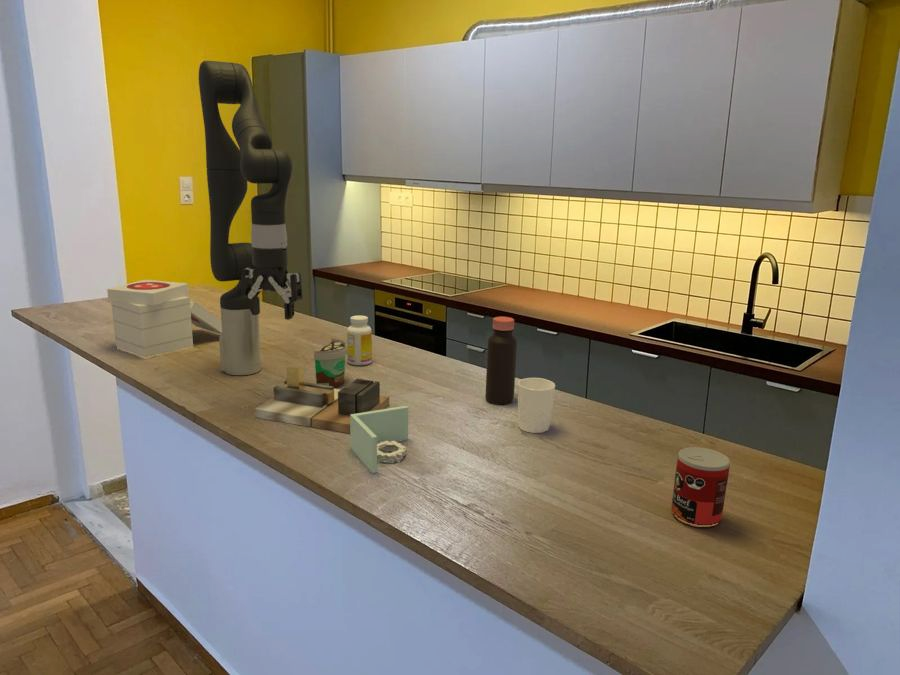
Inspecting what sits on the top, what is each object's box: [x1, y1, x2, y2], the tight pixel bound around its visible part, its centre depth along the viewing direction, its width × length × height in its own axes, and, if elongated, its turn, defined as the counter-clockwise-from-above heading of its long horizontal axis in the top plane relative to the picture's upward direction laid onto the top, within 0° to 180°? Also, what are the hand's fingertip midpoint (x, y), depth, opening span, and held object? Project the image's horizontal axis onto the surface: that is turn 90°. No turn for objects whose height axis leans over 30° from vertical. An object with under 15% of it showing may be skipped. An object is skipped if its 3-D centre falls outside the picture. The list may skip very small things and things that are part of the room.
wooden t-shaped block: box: [281, 362, 334, 404], centre depth 153 cm, size 12×2×7 cm, turn 72°
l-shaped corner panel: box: [349, 405, 409, 474], centre depth 133 cm, size 12×12×8 cm
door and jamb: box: [254, 378, 390, 434], centre depth 153 cm, size 24×18×7 cm
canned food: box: [670, 446, 731, 525], centre depth 113 cm, size 8×8×11 cm
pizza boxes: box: [106, 279, 222, 357], centre depth 198 cm, size 19×30×18 cm, turn 143°
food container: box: [313, 338, 348, 389], centre depth 170 cm, size 12×6×10 cm, turn 168°
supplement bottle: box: [346, 315, 373, 367], centre depth 187 cm, size 7×7×13 cm
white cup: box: [517, 377, 556, 434], centre depth 147 cm, size 8×8×10 cm
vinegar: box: [484, 316, 518, 405], centre depth 161 cm, size 7×7×20 cm
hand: (272, 316), depth 153 cm, fingers open, 8 cm apart
